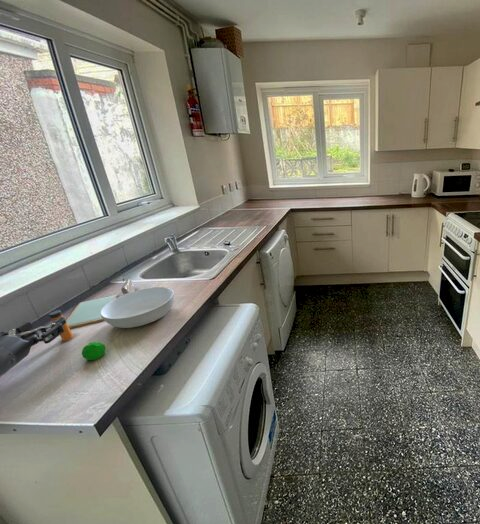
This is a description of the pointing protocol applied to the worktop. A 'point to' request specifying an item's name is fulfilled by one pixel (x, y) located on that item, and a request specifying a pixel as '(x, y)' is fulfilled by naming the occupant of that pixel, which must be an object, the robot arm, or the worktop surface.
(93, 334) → the worktop surface
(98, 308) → the pale green board
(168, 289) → the serving bowl
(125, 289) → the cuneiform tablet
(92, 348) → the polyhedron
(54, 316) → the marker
